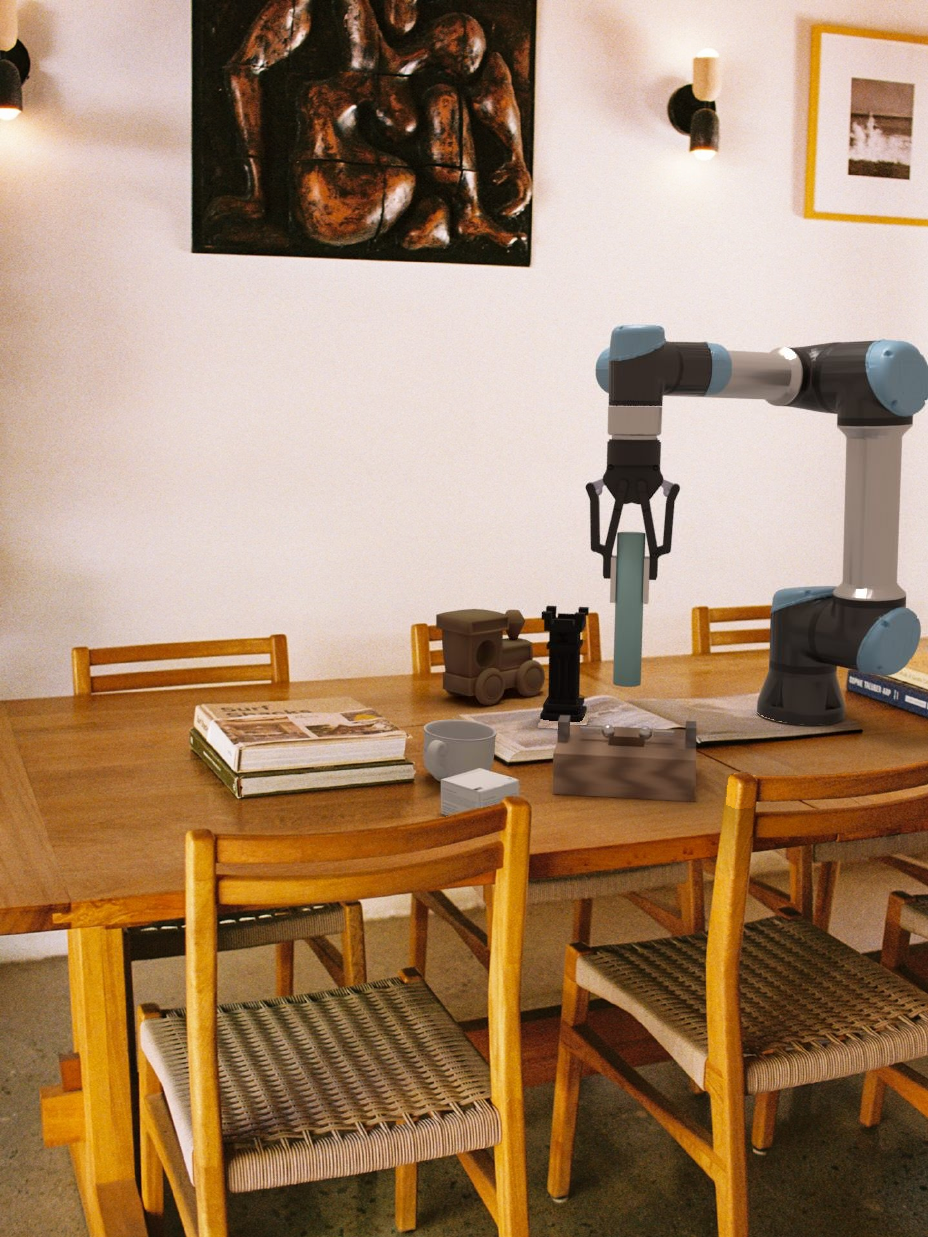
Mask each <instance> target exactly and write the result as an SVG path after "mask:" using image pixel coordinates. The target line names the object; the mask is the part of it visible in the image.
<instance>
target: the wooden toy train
mask: <svg viewBox="0 0 928 1237" xmlns="http://www.w3.org/2000/svg"><path fill="white" fill-rule="evenodd" d="M435 616H436V617H435V622H436V623H435V629H437V630H441V644H442V645H441V646H442V648H441V649H442V658H443V666H444V670H445V671H443V672H442V690H444V691H445V692H446V693H447V694H448V695H449V696H451V697H453V698H455V697H456V698H458V697H462V696H467V697H472V696H475V697H476V699H477V701H478V702H479V703H480V704H481V705H483V706H492V705H494V704H497V703H498V702H499V701H500V700H501V698H502V697H503V695H504V692H505V690H507V689H510V688H511V689H512V688H516V689H517V692H519V693H520V695H522V696H524V697H525V698H526V697H533V696H535V695H537V694H539V692H540V691H541V690H542V688H543V686H544V684H545V677H546V676H545V675H546V673H545V670H544V667H543V666H542V664H541V663H540V662H539V661H537V660H535V659H534V656H533V655H534V648H533V642H532V641H530V640H528V639H525V638H522V637H521V638H520V637H519V636H520V634H521V632H522V630H523V628H524V626H525V622H526V619H525V618H524V616H523V614H522V613H521V611H520V609H507V610H506V611H505V613H502V612H500V611H494V610H490V609H482V608H481V609H480V608H467V609H459V610H452V611H445V612H441V613H438V614H436V615H435ZM504 631H505V632H506V635H507V637H508V638H507V637H506V638H505V637H504Z"/></svg>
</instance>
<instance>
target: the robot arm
mask: <svg viewBox="0 0 928 1237" xmlns="http://www.w3.org/2000/svg"><path fill="white" fill-rule="evenodd" d="M665 334H666V333H665V329H664V327H663V326H661V325H655V324H625V325H624V324H623V325H618V326H616V327H614V328H613V330H612V331H611V334H610V341H609V342H610V343H609V347H607V348H605V349H604V350H603V351H602V352H601V353H600V355H598V358H597V360H596V363H595V370H594V371H595V378H596V381H597V384H598V386H599V387H600V388H601V389H602V390H603V392H605V393H607V394H608V408H607V434H608V435H609V436H611V438H610V439H608V441H607V442H606V444H607V445H606V446H607V447H606V469H605V471H604V472H605V473H603V475H602V478H600V479H597V480H595V481H589V482H588V483H586V485H585V491H586V493H587V495H588V499H589V520H590V522H589V523H590V526H589V527H590V528H589V529H590V532H589V533H590V550H591V552H593V553H597V554H599V555H601V556H602V561H603V562H602V576H603V579H607V580H609V579H610V581H609V582H610V585H609V586H610V587H609V588H610V589H609V603H610V604H615V601H616V566H617V554H616V555H613V551H614V547H615V542H616V540H617V533H618V529H619V525H620V521H621V517H622V513H623V510H624V505H628V504H629V505H630V504H635V505H640V508H641V514H642V518H643V526H644V530H645V532H644V533H646V535H645V538H646V541H647V542H646V544H647V549H648V553H649V554H648V556H646V555H645V558H644V581H643V605H648V604H649V599H650V598H649V596H650V595H649V594H650V581H656V580H657V579H658V569H659V568H658V566H659V558H660V557H661V556H664V555H669V554H670V553H671V552H672V543H673V542H672V541H673V540H672V539H673V526H674V515H675V503H676V500H677V498H678V495H679V493H680V490H681V487H680V484H678V483H673V482H671V481H668V480H666V479H664V475H663V473H662V472H661V461H662V460H661V459H662V458H661V457H662V456H661V455H662V453H661V452H662V441H660V439H658V436H659V437H660V436H661V435H662V426H663V425H662V424H663V401H664V400H663V399H664V396H665V397H682V398H683V397H686V398H687V397H688V398H689V397H690V398H711V399H712V398H719V399H739V400H740V399H742V400H743V399H745V400H746V399H747V400H765V401H766V402H767V403H768V404H770V405H772V406H774V407H787V408H788V407H789V408H795V409H801V410H805V411H812V412H816V413H817V412H818V413H824V414H834V415H836V428H838V430H839V431H840V432H842V434H843V435H844V437H845V439H846V440H845V443H846V445H845V446H846V447H845V450H846V451H845V478H844V480H845V482H844V483H845V485H844V513H843V514H844V515H843V516H844V519H843V521H844V522H843V550H842V551H843V554H842V556H843V557H842V581H841V583H840V584H839V585H838V586H835V585H819V586H818V585H816V586H799V587H797V586H796V587H788V588H780V589H779V590H777V591H776V592H775V593H774V595H773V596H772V602H771V609H770V612H769V613H770V614H769V615H770V623H769V624H770V626H769V627H770V629H769V658H768V660H769V662H768V671H767V675H766V677H765V681H764V682H763V685H762V687H761V689H760V693H759V694H758V697H757V701H756V713H757V712H758V713H759V714H760V715H763V716H764V717H767V718H770V719H774V720H775V721H774V722H776V721H782V722H787V723H790V724H789V725H795V724H804V725H803V726H820V725H819V724H827V725H832V724H833V725H834V724H838V723H841V722H842V721H844V720H845V717H846V715H845V714H846V713H845V712H846V705H845V701H844V697H843V693H842V689H841V686H840V683H839V678H838V674H837V673H838V667H839V668H843V669H848V670H853V671H855V672H860V673H861V674H865V675H876V676H880V677H886V676H887V677H889V676H892V675H895V674H897V673H898V672H900V671H902V670H903V669H904V668H905V667H906V666H908V664H909V662H910V661H911V660H912V659H913V658H914V656H915V654H916V652H917V649H918V648H919V643H920V639H921V634H922V629H921V628H922V626H921V621H920V618H918V615H917V614H916V613H915V612H914V611H913V610H911V609H910V608H909V607H908V608H907V592H906V591H905V590H904V589H903V588H902V587H901V586H900V585H899V583H898V565H899V564H898V562H899V536H900V535H899V534H900V507H901V485H902V484H901V483H902V482H901V479H902V457H903V456H902V452H903V451H902V448H903V436H904V435H905V434H906V433H907V432H908V431H909V430H910V429H911V428H912V427H913V425H914V415H916V414H917V413H919V412H921V410H923V408H925V405H926V402H925V401H927V400H928V363H927V360H926V358H925V356H924V355H923V354H922V353H921V351H920V350H919V349H918V347H916V346H915V345H914V344H913V343H910V342H908V341H905V340H893V339H892V340H891V339H884V338H883V339H879V340H863V341H862V340H861V341H845V342H844V341H843V342H840V341H839V342H838V341H835V342H834V341H833V342H826V343H817V344H813V345H805V346H796V347H785V346H782V347H781V346H780V347H776V348H774V349H772V350H771V351H770V352H761V351H746V350H731V349H730V350H727V348H725V346H723V345H722V344H719V343H713V342H708V341H670V340H669V341H668V340H667V339H666V335H665ZM604 486H605V488H607V490H608V491H609V493H610V494H611V496H612V497H613V499H614V505H613V507H612V513H611V518H610V522H609V525H608V526H609V527H608V530H607V535H606V538H605V539H606V540H605V542H604V544H602V543H601V515H600V514H601V512H600V509H601V508H600V506H601V504H600V502H601V501H600V496H601V495H602V493H603V487H604ZM660 487H661V488H662V489H663V492H662V493H663V496H664V497H666V501H665V508H664V509H665V510H664V523H663V534H662V535H663V536H662V538H663V539H662V545H660V546H658V541H657V537H656V529H655V526H654V518H653V513H652V507H651V499H652V498H653V497H654V495H655V494H656V493H657V491H659V489H660ZM760 715H759V716H760ZM787 723H786V724H787Z"/></svg>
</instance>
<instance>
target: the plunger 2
mask: <svg viewBox="0 0 928 1237" xmlns="http://www.w3.org/2000/svg"><path fill="white" fill-rule="evenodd" d="M639 728H640V729H639V732H638V734H639V737H640V738H641V739H643V740H648V739H650V738H651V736H652V730H651V729H650V727H649V726H646V725H645V726H642V727H639ZM653 737H657V738H674V731H670V730H653Z"/></svg>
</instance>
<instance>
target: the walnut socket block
mask: <svg viewBox="0 0 928 1237" xmlns="http://www.w3.org/2000/svg"><path fill="white" fill-rule="evenodd" d="M581 726H584V727H601V731H602V728H603V726H604V725H570V716H567V715H560V717H559V720H558V729H556V731H557V735H556V736H557V737H556V739H557V740H556V745H555V747H554V750H553V754H552V755H553V756H552V795H568V796H569V795H570V796H588V797H602V798H603V797H604V798H622V799H623V798H624V799H637V800H638V799H642V800H657V801H658V800H660V801H675V802H677V801H679V802H692V803H693V802H696V778H697V728H698V727H697V721H694V720H686V721H685V729H673V728H672V729H671V728H653V727H651V728H650V727H649V728H650V729H651V730H652V736H651V738H650V739H648V740H643V739H641V738H640V737H639V734H638V732H639V729H640V728H641V727H630V726H629V727H628V726H613V727H614V729H615V734H614V736H613V737H611V738H605V737H604V736H603V735H602V732H601V735H594V734H580V727H581ZM653 730H670V731H674V738H657V737H653Z"/></svg>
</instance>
